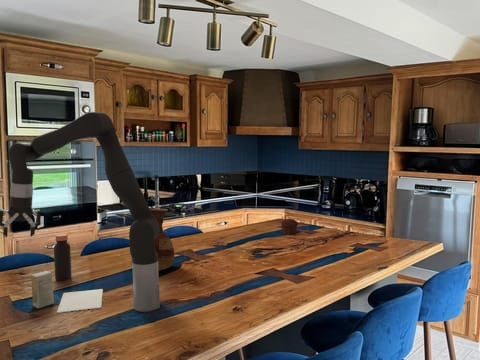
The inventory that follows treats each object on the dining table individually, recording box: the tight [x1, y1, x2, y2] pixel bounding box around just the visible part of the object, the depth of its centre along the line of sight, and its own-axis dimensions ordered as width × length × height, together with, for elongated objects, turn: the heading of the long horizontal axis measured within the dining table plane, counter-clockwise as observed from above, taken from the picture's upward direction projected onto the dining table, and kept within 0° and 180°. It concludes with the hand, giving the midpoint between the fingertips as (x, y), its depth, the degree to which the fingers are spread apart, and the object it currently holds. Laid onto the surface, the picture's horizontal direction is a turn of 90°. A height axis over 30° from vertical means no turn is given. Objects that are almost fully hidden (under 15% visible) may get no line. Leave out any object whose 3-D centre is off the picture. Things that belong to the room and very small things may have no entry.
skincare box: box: [30, 270, 55, 309], centre depth 153 cm, size 6×4×12 cm
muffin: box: [280, 218, 299, 236], centre depth 274 cm, size 12×11×10 cm
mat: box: [56, 288, 104, 314], centre depth 158 cm, size 15×20×1 cm
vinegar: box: [53, 233, 72, 282], centre depth 183 cm, size 7×7×20 cm
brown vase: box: [149, 207, 175, 272], centre depth 196 cm, size 20×20×30 cm
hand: (19, 236), depth 157 cm, fingers open, 8 cm apart
